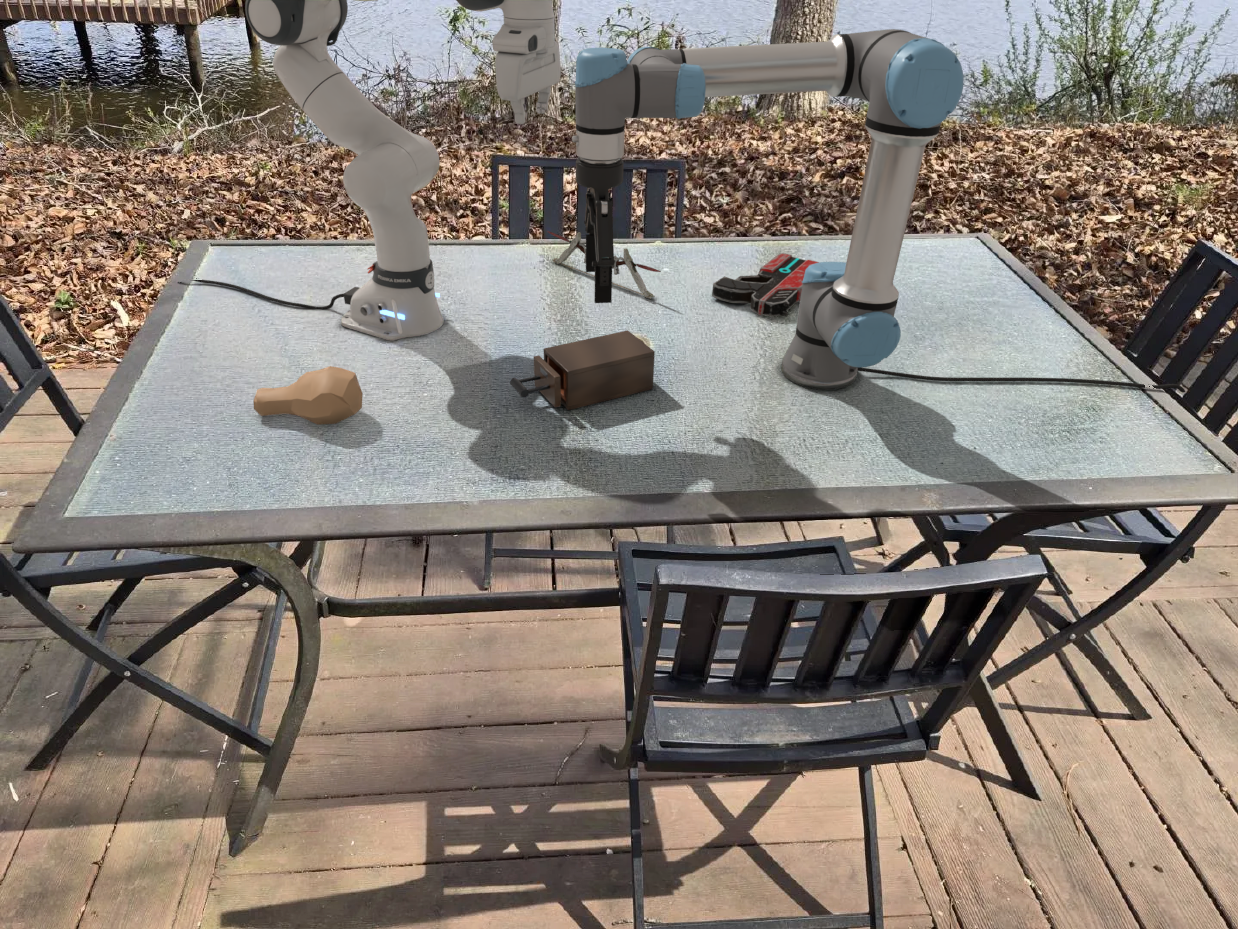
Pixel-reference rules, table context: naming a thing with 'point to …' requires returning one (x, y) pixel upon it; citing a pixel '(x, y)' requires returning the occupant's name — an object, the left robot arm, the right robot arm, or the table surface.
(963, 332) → the table surface
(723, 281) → the gun
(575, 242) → the bow
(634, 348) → the cabinet
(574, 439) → the table surface
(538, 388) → the drawer
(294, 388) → the squash
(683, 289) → the table surface
